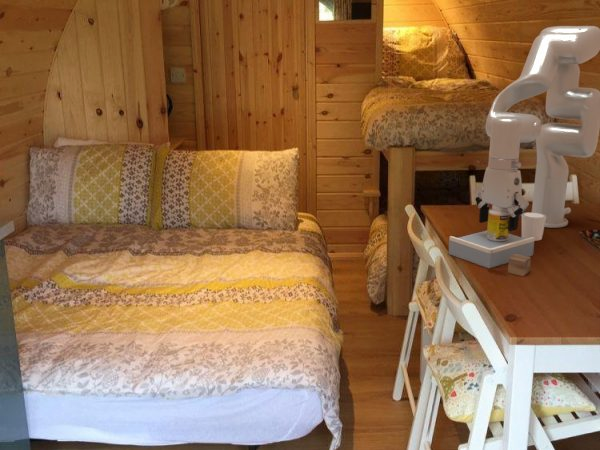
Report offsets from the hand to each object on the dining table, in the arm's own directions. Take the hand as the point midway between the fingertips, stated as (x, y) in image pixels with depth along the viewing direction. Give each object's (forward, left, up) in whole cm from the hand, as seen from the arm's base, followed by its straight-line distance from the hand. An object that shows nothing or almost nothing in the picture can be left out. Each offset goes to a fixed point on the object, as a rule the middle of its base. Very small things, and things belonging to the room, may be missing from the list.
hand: (497, 225), depth 175 cm
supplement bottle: (0, 0, -4) cm, 4 cm away
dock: (+2, 0, -8) cm, 8 cm away
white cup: (-20, -3, -8) cm, 22 cm away
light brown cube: (+7, +13, -8) cm, 17 cm away
